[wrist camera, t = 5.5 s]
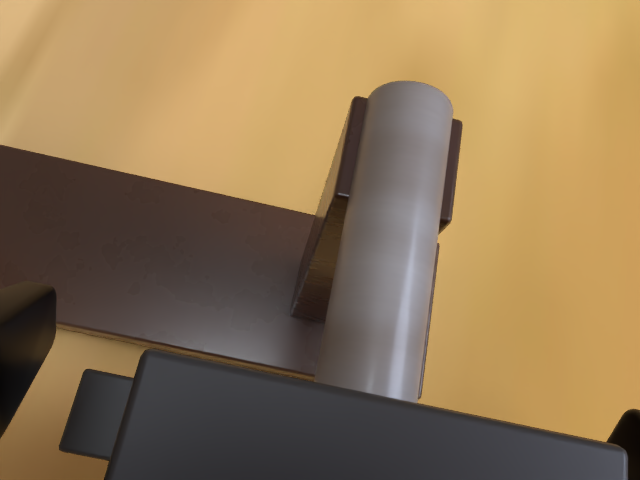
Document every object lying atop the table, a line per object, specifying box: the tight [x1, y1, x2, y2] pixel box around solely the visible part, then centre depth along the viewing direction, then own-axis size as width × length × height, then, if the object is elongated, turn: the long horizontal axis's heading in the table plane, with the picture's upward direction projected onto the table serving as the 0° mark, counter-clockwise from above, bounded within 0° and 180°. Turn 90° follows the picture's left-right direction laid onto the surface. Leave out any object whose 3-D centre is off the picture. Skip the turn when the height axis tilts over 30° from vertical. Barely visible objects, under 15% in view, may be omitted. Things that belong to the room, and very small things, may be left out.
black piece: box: [59, 348, 628, 480], centre depth 8 cm, size 2×9×7 cm, turn 79°
